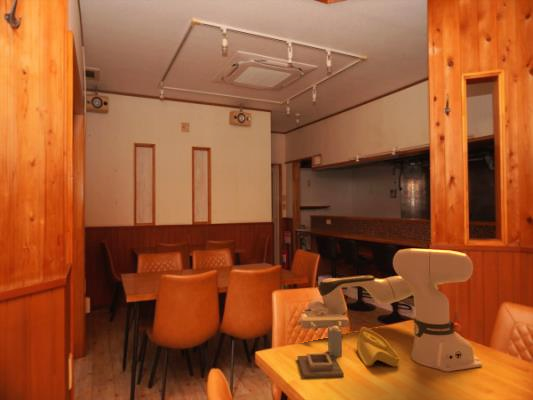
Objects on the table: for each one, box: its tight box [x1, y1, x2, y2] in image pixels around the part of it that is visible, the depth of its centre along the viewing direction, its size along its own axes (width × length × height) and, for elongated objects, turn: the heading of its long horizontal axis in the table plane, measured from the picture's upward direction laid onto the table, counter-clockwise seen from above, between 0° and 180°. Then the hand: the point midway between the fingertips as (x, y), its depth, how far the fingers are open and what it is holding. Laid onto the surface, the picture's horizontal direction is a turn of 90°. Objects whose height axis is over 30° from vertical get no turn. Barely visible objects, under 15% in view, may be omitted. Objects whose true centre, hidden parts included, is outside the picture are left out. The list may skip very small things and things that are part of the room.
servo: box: [327, 326, 343, 357], centre depth 135 cm, size 4×5×10 cm
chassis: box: [297, 352, 345, 379], centre depth 124 cm, size 13×14×3 cm
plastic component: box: [356, 326, 401, 368], centre depth 133 cm, size 20×7×10 cm
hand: (327, 328), depth 147 cm, fingers open, 8 cm apart
